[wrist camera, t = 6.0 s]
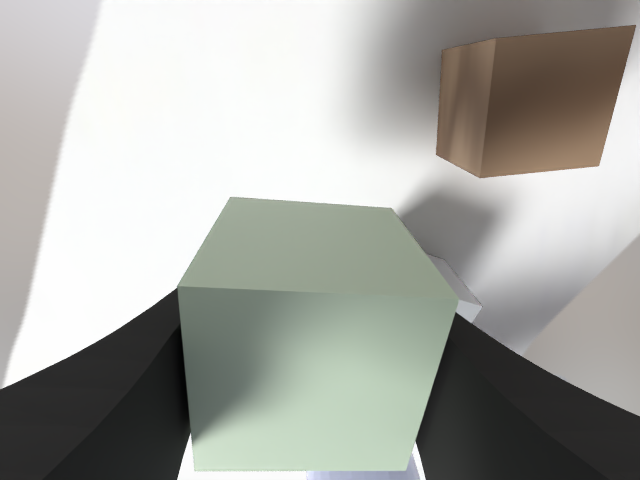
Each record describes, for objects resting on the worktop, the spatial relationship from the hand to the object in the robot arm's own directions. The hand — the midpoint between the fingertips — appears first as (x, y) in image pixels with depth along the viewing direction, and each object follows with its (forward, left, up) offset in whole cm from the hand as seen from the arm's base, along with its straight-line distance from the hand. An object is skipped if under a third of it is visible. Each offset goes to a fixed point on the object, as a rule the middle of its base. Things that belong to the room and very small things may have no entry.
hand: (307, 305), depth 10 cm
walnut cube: (+6, -9, -10) cm, 15 cm away
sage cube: (0, 0, -2) cm, 2 cm away
